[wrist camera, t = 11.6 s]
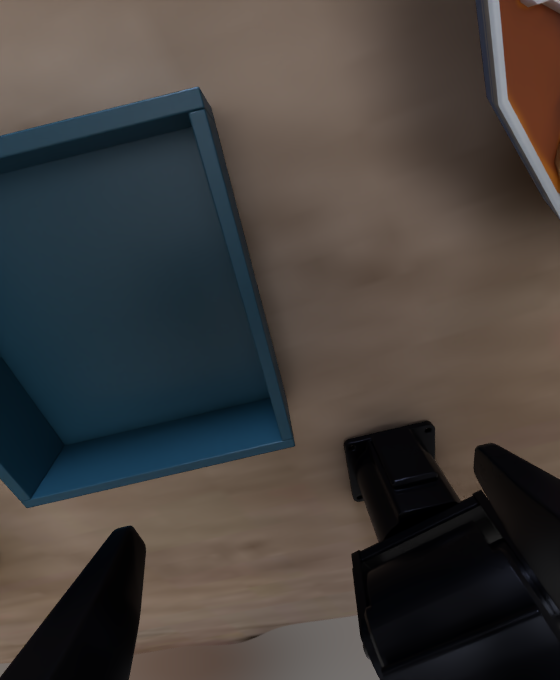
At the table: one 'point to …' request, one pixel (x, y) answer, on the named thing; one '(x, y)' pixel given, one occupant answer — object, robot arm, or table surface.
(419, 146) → the table surface
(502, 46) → the ramen bowl
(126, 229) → the bin
